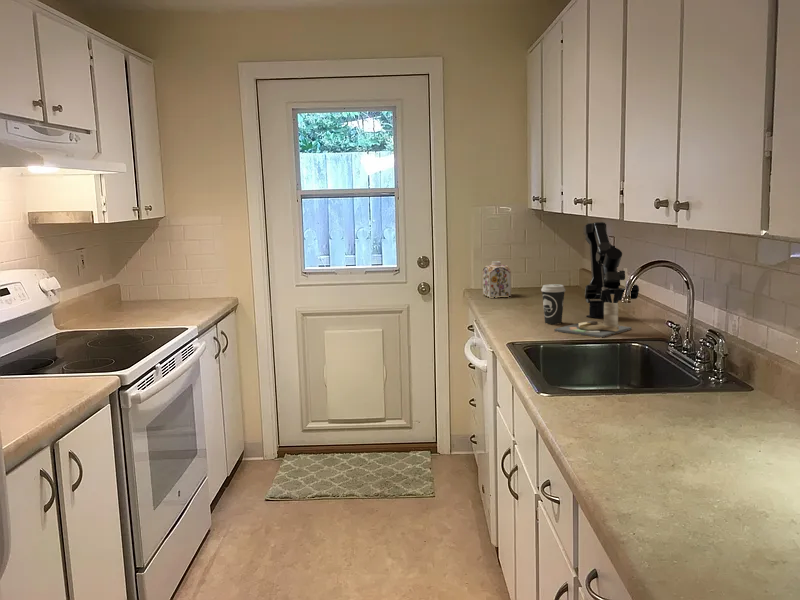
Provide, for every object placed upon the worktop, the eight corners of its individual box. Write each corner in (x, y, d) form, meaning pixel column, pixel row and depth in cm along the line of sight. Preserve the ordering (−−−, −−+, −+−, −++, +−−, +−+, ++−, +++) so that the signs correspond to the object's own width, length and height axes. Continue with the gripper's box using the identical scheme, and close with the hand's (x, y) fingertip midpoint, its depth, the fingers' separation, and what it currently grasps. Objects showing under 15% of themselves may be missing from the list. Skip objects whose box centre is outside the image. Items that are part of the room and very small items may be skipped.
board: (584, 323, 271) (584, 320, 271) (631, 329, 256) (631, 326, 256) (554, 331, 258) (554, 328, 257) (601, 337, 243) (601, 334, 243)
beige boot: (569, 329, 254) (569, 302, 253) (587, 324, 263) (588, 298, 261) (606, 334, 243) (606, 306, 242) (624, 328, 252) (624, 301, 250)
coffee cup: (566, 325, 269) (566, 286, 267) (541, 324, 271) (540, 287, 269) (565, 320, 278) (565, 283, 276) (541, 320, 280) (540, 284, 278)
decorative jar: (482, 295, 357) (481, 261, 355) (503, 294, 359) (503, 260, 357) (489, 298, 345) (489, 263, 343) (511, 297, 348) (511, 262, 345)
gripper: (585, 263, 254) (588, 297, 245) (638, 262, 251) (643, 297, 242) (583, 281, 263) (586, 315, 254) (634, 281, 259) (639, 315, 250)
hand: (613, 310), depth 250 cm, fingers closed
